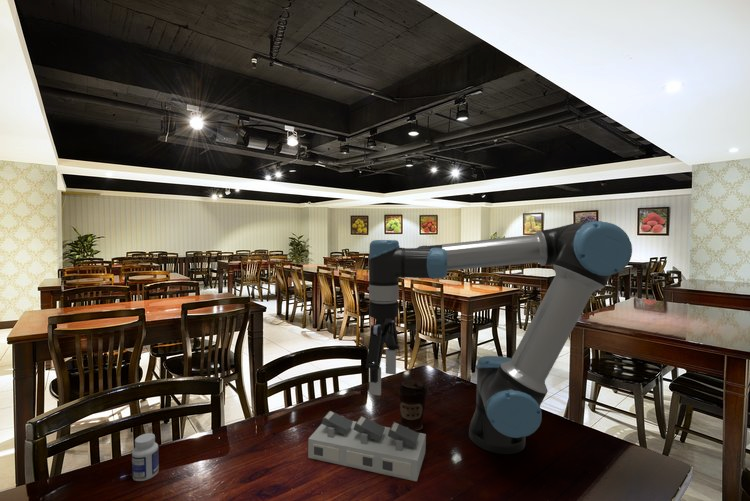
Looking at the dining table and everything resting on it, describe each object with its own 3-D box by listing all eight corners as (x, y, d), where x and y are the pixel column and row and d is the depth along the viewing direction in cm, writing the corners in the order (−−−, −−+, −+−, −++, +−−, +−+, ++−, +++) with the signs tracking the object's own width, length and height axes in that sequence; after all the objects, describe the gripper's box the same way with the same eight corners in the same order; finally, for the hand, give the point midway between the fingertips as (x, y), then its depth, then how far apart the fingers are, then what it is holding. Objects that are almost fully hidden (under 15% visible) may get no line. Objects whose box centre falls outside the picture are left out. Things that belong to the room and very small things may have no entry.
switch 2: (382, 435, 97) (385, 426, 97) (377, 445, 92) (380, 436, 92) (358, 423, 99) (361, 414, 99) (352, 433, 94) (354, 424, 94)
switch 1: (350, 429, 100) (353, 420, 99) (343, 439, 95) (346, 429, 95) (327, 418, 102) (330, 409, 101) (319, 427, 97) (322, 418, 96)
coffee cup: (425, 435, 105) (426, 391, 105) (396, 432, 107) (397, 388, 106) (427, 420, 114) (428, 379, 113) (400, 417, 116) (401, 376, 115)
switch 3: (416, 441, 94) (419, 432, 94) (412, 452, 90) (415, 442, 89) (391, 429, 96) (394, 420, 96) (386, 439, 91) (389, 430, 91)
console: (425, 452, 97) (426, 425, 97) (416, 482, 85) (417, 452, 85) (327, 433, 106) (328, 408, 105) (307, 458, 94) (307, 431, 93)
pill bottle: (153, 464, 91) (153, 429, 90) (162, 473, 87) (162, 436, 87) (128, 475, 86) (128, 438, 86) (137, 485, 83) (136, 446, 83)
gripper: (383, 292, 107) (383, 365, 108) (351, 309, 83) (351, 402, 84) (409, 293, 104) (408, 368, 105) (383, 311, 81) (383, 407, 82)
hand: (383, 383), depth 95 cm, fingers open, 13 cm apart
